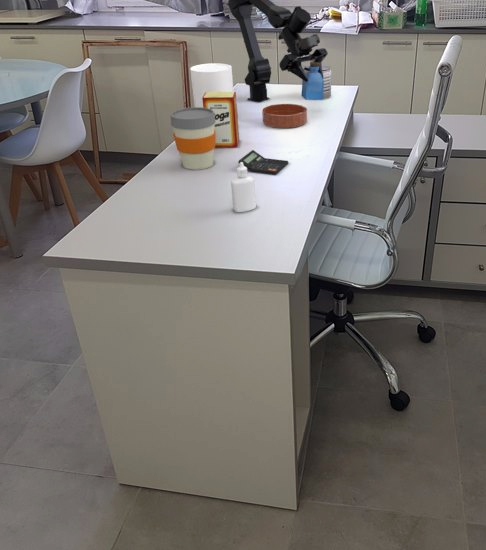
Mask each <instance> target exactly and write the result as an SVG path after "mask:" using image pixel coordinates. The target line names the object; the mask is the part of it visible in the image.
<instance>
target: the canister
mask: <svg viewBox="0 0 486 550" xmlns="http://www.w3.org/2000/svg"><path fill="white" fill-rule="evenodd" d="M232 67H233V66H232V65H230V64H227V63H219V62H218V63H217V62H216V63H215V62H211V63H202V64H195V65H193V66H191V67H190V68H189V71H190V79H191V80H190V81H191V87H192V97H193V107H202V108H203V100H202V97H203V96H204V94H205V92H216V91H220V92H234V80H233V79H234V78H233V68H232Z"/></svg>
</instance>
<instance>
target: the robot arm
mask: <svg viewBox="0 0 486 550" xmlns="http://www.w3.org/2000/svg"><path fill="white" fill-rule="evenodd" d="M227 2H228V3H227V4H228V8H229V10H230V12H231V15H232V16H233V18H235V20H236V21H237V22H238V25H239V29H240V32H241V35H242V38H243V39H242V40H243V42H244V46H245V48H246V52H247V56H248V59H249V61H248V65H247V71H248V73H247V75H246V76H245V77H244V83H245V86H249V97H248V98H247V101H252V102H257V103H261V102H264V101H267V100H270V97H268V88H267V84H270V83H271V76H272V70H271V69H272V67H271V65H270V61H269V59H268V58H265V57H264V56H263V55H262V52H261V48H260V44H259V41H258V38H257V35H256V31H255V28H254V27H255V26H254V23H253V21H252V14H253V6H254V7H255V8H256V9H258V11H260V12H261V13H262V14H263V15H264V16H266V17H267V21H268V24H270V26H272V28H274V29H282V30H280V31H279V32H278V37H277V39H278V40H279V41H281V40H283V41H284V43H285V45H286V47H287V49H286V52H287V54H284V55H283V57H282V58H281V60H280V62H279V64H278V65H279V68H280V70H281V72H284V71H285V72H286V71H287V72H288V73H291V74H293V75H295V76H296V77H298V78H299V79H301V80H304V81H305V82H308V78H307V75H306V74H305V72H304V70H303V69H304V67H303V65H302V63H305V62H317V63H319V65H318V66H319V70H318V72H319V73H320V74H321V76H322V78H323V71H322V65H323V64H322V62H323V61H324V59H325V58H326V57H327V56H328V54H329V53H328V51H327V48H325V47H321V48H316V49H315V50H314V51H313V48H315V47H318V46H319V44H320V43H321V39H320V37H319V35H318V34H317V33H314V34H312V35H310V36H308V37H305V38H302V37H301V35H300V34H303V32H304V30H306V28H307V27H308V25H309V24H310V22H311V20H312V15H311V14H310V13H309V12H308V11H307V10H305V9H304V8H302V7H301V5H298V6H294V8H293V11H291V9H288V8H286V7H284V6H279V5H276V4H275V3H274V2H273V1H271V0H228V1H227ZM312 51H313V52H312ZM311 52H312V53H311Z"/></svg>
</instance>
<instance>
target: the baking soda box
mask: <svg viewBox="0 0 486 550" xmlns="http://www.w3.org/2000/svg"><path fill="white" fill-rule="evenodd" d="M202 100H203V108H209V109H211V110H213V111H214V116H215V121H216V122H215V124H214V130H215V131H216V140H215V148H214V149H220V148H221V149H222V148H223V149H224V148H225V149H227V148H229V149H230V148H231V149H232V148H238V147H239V144H240V132H239V131H240V129H239V118H238V104H237V91H233V92H220V91H216V92H205V94H204V96H203V97H202Z"/></svg>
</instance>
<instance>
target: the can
mask: <svg viewBox="0 0 486 550" xmlns="http://www.w3.org/2000/svg"><path fill="white" fill-rule="evenodd" d="M309 66H310V64H303V65H302V68H303V70H304V72H305V74H306V72H310V69H309ZM322 71H323V80H324V89H323V100H327V99H330V98H331V97H332V67H331V66H328V65H324V64H322ZM323 100H322V101H323Z"/></svg>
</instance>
